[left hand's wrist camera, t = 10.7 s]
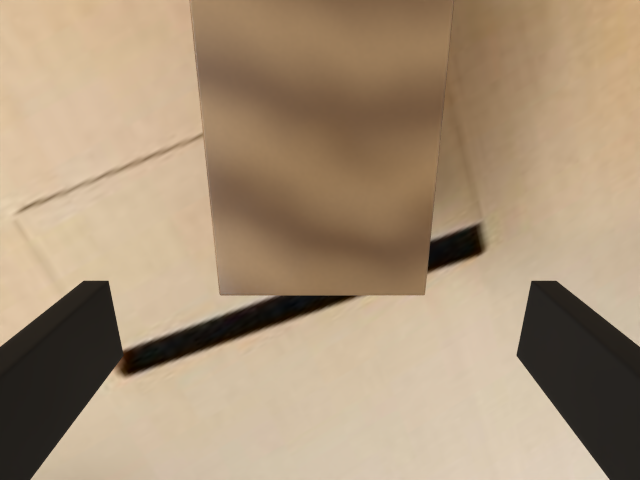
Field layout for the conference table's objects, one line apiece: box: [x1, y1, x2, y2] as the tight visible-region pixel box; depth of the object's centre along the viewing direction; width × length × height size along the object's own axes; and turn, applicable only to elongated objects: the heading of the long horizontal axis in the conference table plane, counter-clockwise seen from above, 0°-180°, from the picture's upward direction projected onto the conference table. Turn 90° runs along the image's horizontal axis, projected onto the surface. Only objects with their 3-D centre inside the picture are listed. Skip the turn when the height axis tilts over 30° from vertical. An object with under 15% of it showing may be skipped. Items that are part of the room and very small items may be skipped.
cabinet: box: [190, 0, 454, 295], centre depth 21 cm, size 19×10×11 cm, turn 0°
